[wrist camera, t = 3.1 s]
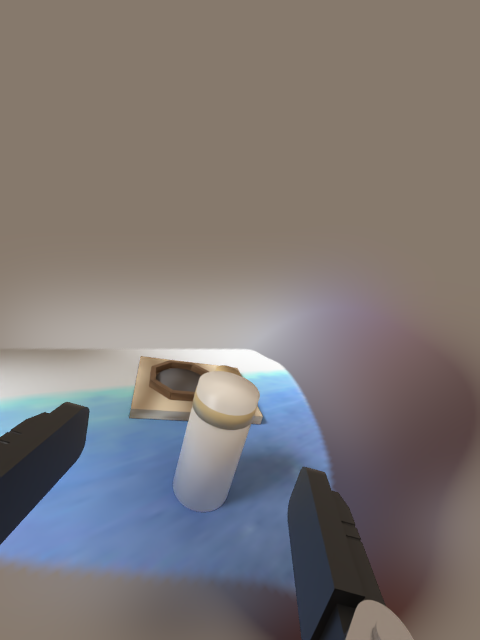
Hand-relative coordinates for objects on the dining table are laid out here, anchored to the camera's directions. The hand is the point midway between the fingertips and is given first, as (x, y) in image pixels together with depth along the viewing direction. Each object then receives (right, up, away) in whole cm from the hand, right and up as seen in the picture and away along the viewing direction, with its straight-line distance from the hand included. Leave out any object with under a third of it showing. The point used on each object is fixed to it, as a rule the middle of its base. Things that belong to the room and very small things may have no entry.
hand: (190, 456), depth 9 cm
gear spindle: (-2, -10, +14) cm, 17 cm away
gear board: (-5, -5, +28) cm, 29 cm away
